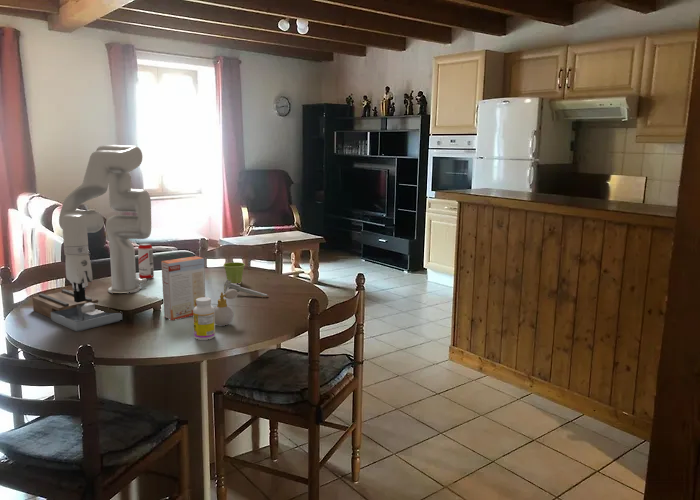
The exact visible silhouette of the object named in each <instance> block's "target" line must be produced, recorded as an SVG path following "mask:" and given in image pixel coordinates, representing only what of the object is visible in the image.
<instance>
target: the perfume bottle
mask: <svg viewBox="0 0 700 500" xmlns="http://www.w3.org/2000/svg"><path fill="white" fill-rule="evenodd" d="M238 293H239V292H237V291H236V290H235V289H229V288H228V289H227V291H226V292H225V293H224V292H222V291H221V293H220V295H219V299H218V300H217V305H216V306H215V307H214V311H215V326H218V327H225V325H226V326H228V325H229V324H231V322H233V319H234V311H233V309H232V308H231V307H230V306H229V305H228V303H227V299H228V300H234V299H236V298H237V297H238V295H239V294H238Z"/></svg>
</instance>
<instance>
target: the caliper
mask: <svg viewBox="0 0 700 500" xmlns="http://www.w3.org/2000/svg"><path fill="white" fill-rule="evenodd" d="M230 282H231V280H230V281H229V280H227V279H226V281H225V282H224V285H223V294H225V292H226V291H228V290H229V289H235V290H236V291H237V293H240V292H243V293H246V294H250V295H253V296H256V295H261V296H268V294H267V293H263V292H261V291H256V290H253V289H250V288H245V287H243V286H241V284H233V283H230Z"/></svg>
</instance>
